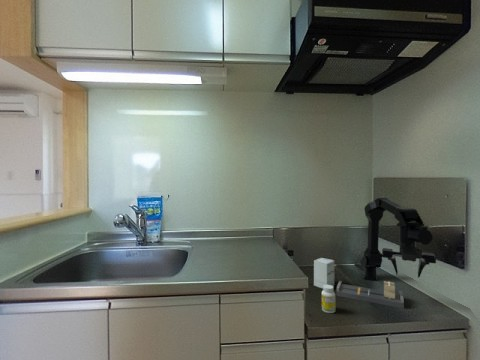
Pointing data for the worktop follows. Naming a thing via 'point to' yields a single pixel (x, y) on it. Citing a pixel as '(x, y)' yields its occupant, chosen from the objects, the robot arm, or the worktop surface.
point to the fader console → (369, 295)
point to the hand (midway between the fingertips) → (407, 275)
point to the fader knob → (389, 289)
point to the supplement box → (323, 272)
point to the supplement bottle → (328, 299)
